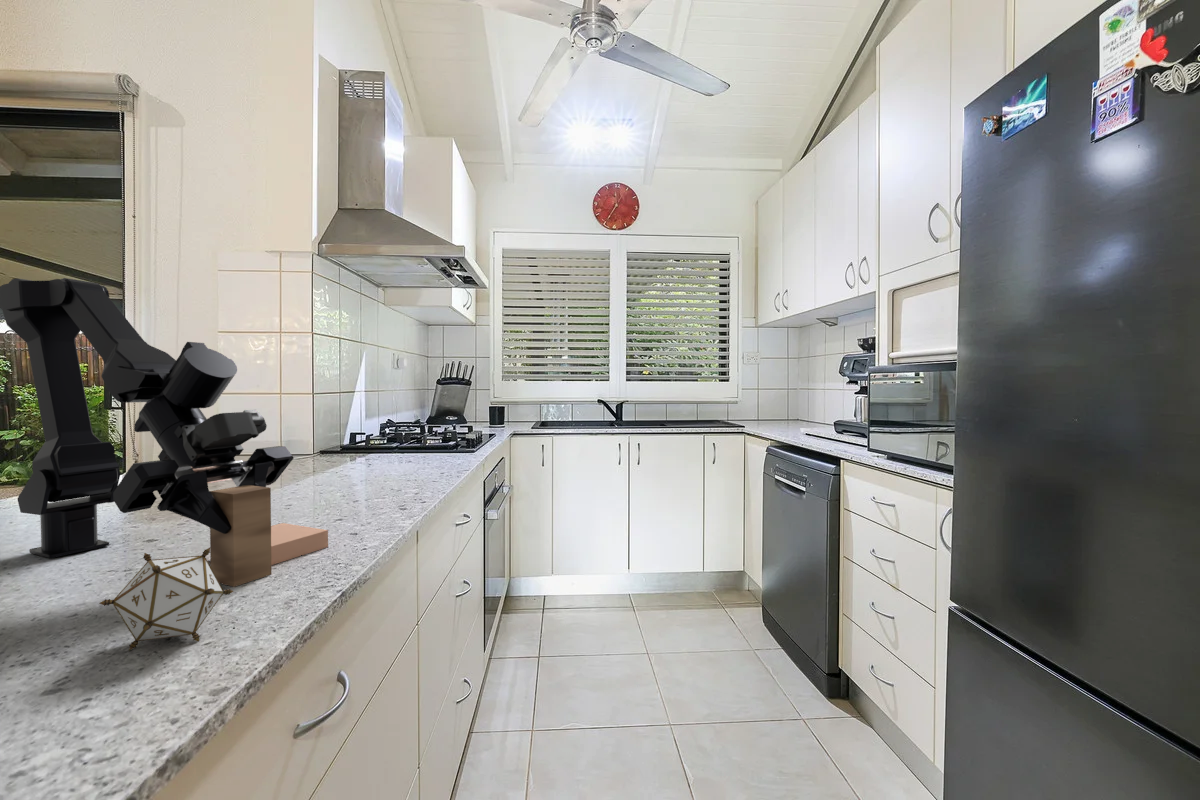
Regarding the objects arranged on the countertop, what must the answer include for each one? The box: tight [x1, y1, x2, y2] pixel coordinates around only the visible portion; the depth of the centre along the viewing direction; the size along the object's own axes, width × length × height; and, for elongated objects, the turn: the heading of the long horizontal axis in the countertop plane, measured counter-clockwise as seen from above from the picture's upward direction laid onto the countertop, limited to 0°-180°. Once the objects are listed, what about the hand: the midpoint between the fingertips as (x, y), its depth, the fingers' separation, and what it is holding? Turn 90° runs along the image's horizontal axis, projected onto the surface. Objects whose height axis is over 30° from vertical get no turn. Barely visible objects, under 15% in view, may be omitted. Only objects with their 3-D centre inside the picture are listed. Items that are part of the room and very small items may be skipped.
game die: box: [98, 547, 235, 652], centre depth 49 cm, size 9×8×10 cm
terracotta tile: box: [271, 522, 329, 566], centre depth 74 cm, size 10×10×2 cm
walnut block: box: [209, 485, 272, 588], centre depth 64 cm, size 4×4×11 cm
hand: (248, 525), depth 64 cm, fingers closed on walnut block, 5 cm apart
